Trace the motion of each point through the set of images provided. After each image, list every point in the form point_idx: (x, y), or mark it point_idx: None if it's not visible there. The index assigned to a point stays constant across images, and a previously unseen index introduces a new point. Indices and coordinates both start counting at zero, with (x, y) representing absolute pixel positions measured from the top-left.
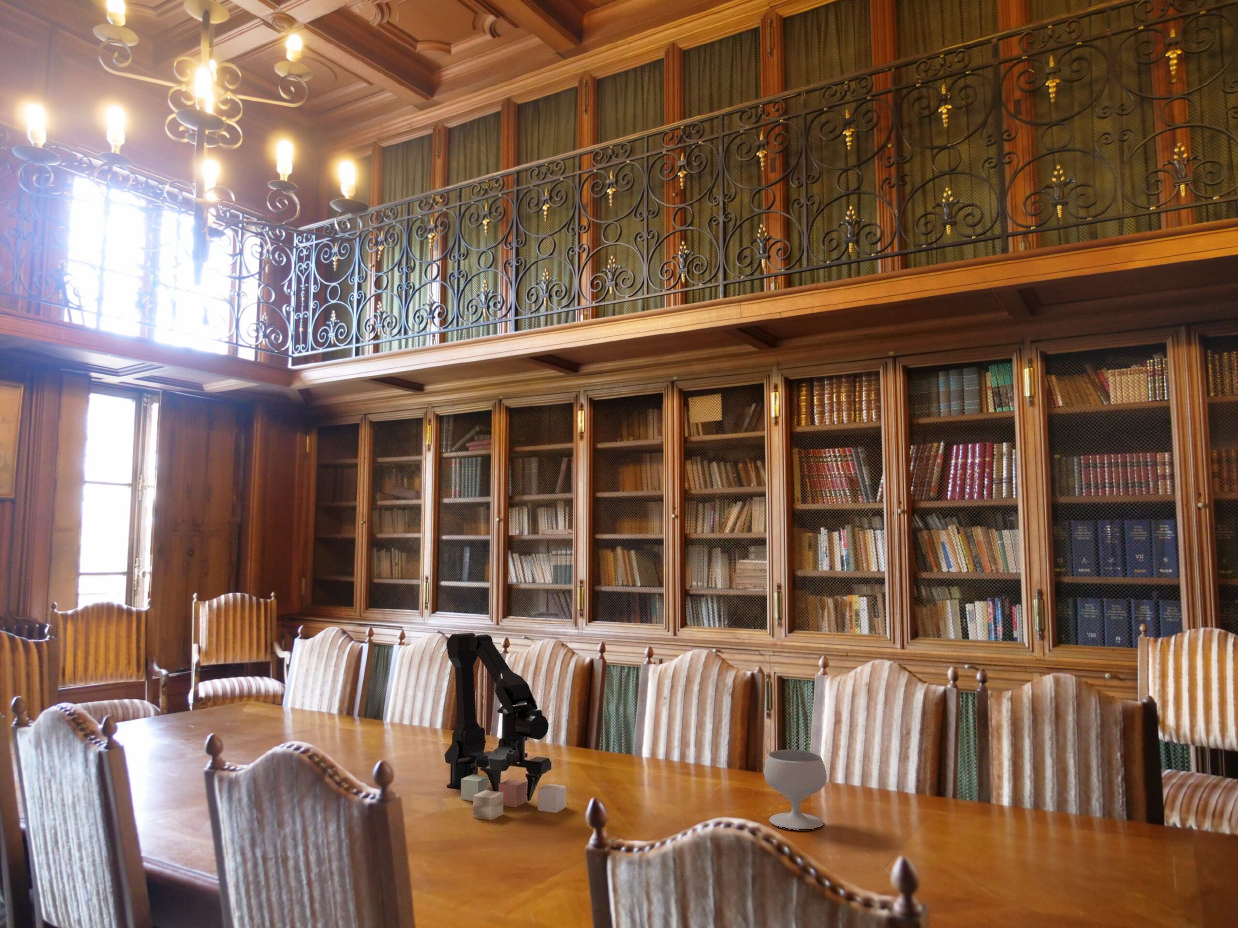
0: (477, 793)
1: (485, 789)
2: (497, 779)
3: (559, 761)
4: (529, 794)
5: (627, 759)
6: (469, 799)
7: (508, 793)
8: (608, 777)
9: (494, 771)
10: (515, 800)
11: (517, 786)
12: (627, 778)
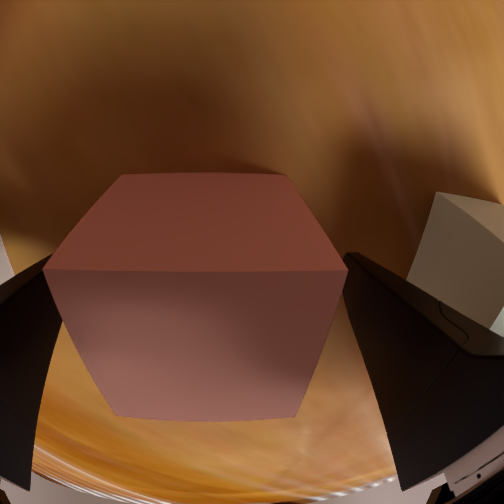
0: (469, 213)
1: (436, 296)
2: (395, 366)
3: (283, 488)
4: (20, 272)
5: (177, 500)
6: (475, 201)
7: (180, 213)
8: (124, 472)
9: (460, 409)
10: (110, 191)
11: (58, 286)
12: (90, 467)
